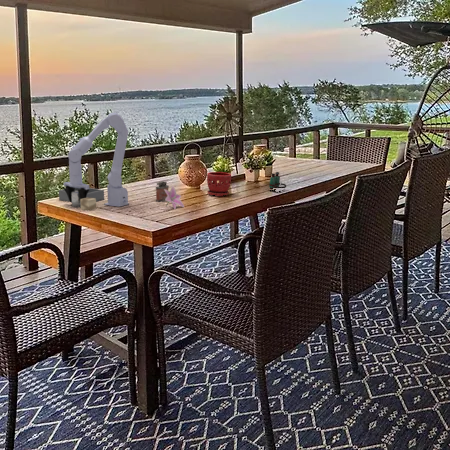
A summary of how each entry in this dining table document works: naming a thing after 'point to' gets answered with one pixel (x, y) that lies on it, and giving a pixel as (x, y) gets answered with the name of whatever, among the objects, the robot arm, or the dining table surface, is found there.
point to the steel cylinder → (75, 199)
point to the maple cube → (88, 203)
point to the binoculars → (275, 181)
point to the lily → (173, 197)
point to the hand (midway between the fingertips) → (77, 202)
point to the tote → (91, 194)
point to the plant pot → (220, 187)
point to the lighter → (161, 191)
